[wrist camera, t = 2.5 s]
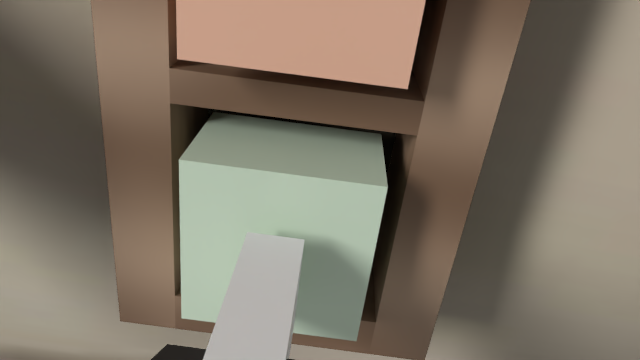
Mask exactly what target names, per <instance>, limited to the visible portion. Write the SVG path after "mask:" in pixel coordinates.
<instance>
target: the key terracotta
mask: <svg viewBox="0 0 640 360" xmlns="http://www.w3.org/2000/svg"><path fill="white" fill-rule="evenodd" d="M425 1H426V0H176V26H177V59H180V60H188V61H195V62H203V63H211V64H218V65H226V66H234V67H241V68H249V69H257V70H264V71H272V72H279V73H287V74H295V75H302V76H310V77H318V78H325V79H333V80H341V81H348V82H356V83H364V84H371V85H379V86H387V87H394V88H402V89H408V85H409V80H410V75H411V70H412V65H413V60H414V56H415V51H416V46H417V41H418V36H419V31H420V26H421V21H422V16H423V11H424V6H425Z"/></svg>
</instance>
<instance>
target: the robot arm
mask: <svg viewBox="0 0 640 360" xmlns="http://www.w3.org/2000/svg"><path fill="white" fill-rule="evenodd" d="M304 241H305V239H297V238H289V237H282V236H274V235H267V234H259V233H251V232H247V234H246V237H245V240H244V243H243V246H242V249H241V251H240V254H239V257H238V260H237V263H236V266H235V269H234V272H233V274H232V277H231V280H230V283H229V286H228V289H227V292H226V295H225V297H224V300H223V303H222V306H221V309H220V312H219V315H218V317H217V320H216V323H215V326H214V329H213V332H212V335H211V338H210V340H209V343H208V346H207V349H199V348H192V347H184V346H177V345H169V344H167V345H166V346H165V347H164V348H163V349H162V350H161V351H160V352H159V353H158V354H156V355H155V356H154V357H153V358H152V359H151V360H293V359H289V355H290V348H291V342H292V335H293V328H294V322H295V314H296V306H297V298H298V290H299V282H300V273H301V265H302V257H303V249H304Z"/></svg>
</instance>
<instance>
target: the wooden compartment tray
mask: <svg viewBox="0 0 640 360" xmlns="http://www.w3.org/2000/svg"><path fill="white" fill-rule="evenodd" d="M530 2H531V0H426V1H425V6H424V11H423V16H422V21H421V26H420V31H419V36H418V41H417V46H416V51H415V56H414V60H413V65H412V70H411V75H410V80H409V85H408V89H402V88H394V87H387V86H379V85H371V84H364V83H356V82H348V81H341V80H333V79H325V78H318V77H310V76H302V75H295V74H287V73H279V72H272V71H264V70H257V69H249V68H241V67H234V66H226V65H218V64H211V63H203V62H195V61H188V60H180V59H177V26H176V0H91V8H92V19H93V30H94V41H95V52H96V63H97V74H98V84H99V95H100V106H101V117H102V128H103V139H104V150H105V161H106V171H107V182H108V193H109V204H110V215H111V226H112V237H113V247H114V258H115V269H116V280H117V291H118V302H119V313H120V321H123V322H131V323H138V324H146V325H154V326H161V327H169V328H176V329H184V330H192V331H199V332H207V333H212V332H213V329H214V326H215V323H214V322H206V321H198V320H191V319H183V318H181V262H180V203H179V159H180V157H181V156H182V155H183V153H184V152H185V151H186V149H187V148H188V146H189V145H190V144H191V142H192V141H193V140H194V138H195V137H196V136H197V134H198V133H199V132H200V130H201V129H202V127H203V126H204V125H205V123H206V122H207V121H208V108H210V109H217V110H225V111H233V112H240V113H248V114H256V115H263V116H271V117H278V118H286V119H294V120H301V121H309V122H317V123H324V124H332V125H340V126H347V127H355V128H362V129H370V130H378V131H385V132H393V133H396V135H395V140H394V145H393V150H392V155H391V160H390V165H389V170H388V175H387V184H388V189H387V194H386V199H385V203H384V208H383V213H382V218H381V223H380V228H379V233H378V238H377V243H376V248H375V253H374V258H373V263H372V268H371V273H370V277H369V282H368V287H367V292H366V297H365V302H364V307H363V312H362V317H361V322H360V327H359V332H358V337H357V341H350V340H343V339H335V338H328V337H320V336H312V335H305V334H297V333H293V335H292V342H291V344H298V345H306V346H313V347H321V348H328V349H336V350H344V351H351V352H359V353H367V354H374V355H382V356H389V357H397V358H405V359H412V360H425V357H426V354H427V350H428V347H429V344H430V340H431V337H432V333H433V330H434V327H435V323H436V320H437V316H438V313H439V310H440V306H441V303H442V299H443V296H444V293H445V289H446V286H447V283H448V279H449V276H450V272H451V269H452V266H453V262H454V259H455V255H456V252H457V249H458V245H459V242H460V239H461V235H462V232H463V228H464V225H465V222H466V218H467V215H468V211H469V208H470V205H471V201H472V198H473V195H474V191H475V188H476V184H477V181H478V178H479V174H480V171H481V167H482V164H483V161H484V157H485V154H486V151H487V147H488V144H489V140H490V137H491V134H492V130H493V127H494V123H495V120H496V117H497V113H498V110H499V107H500V103H501V100H502V96H503V93H504V90H505V86H506V83H507V79H508V76H509V73H510V69H511V66H512V63H513V59H514V56H515V52H516V49H517V46H518V42H519V39H520V35H521V32H522V29H523V25H524V22H525V18H526V15H527V12H528V8H529V5H530Z"/></svg>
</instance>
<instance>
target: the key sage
mask: <svg viewBox="0 0 640 360" xmlns="http://www.w3.org/2000/svg"><path fill="white" fill-rule="evenodd" d="M387 189H388V184H387V176H386V168H385V160H384V152H383V144H382V136H381V134H377V133H369V132H361V131H354V130H346V129H338V128H331V127H323V126H315V125H308V124H300V123H293V122H285V121H277V120H270V119H262V118H254V117H247V116H239V115H231V114H224V113H216V112H214V113H213V114H212V115H211V117H210V118H209V119H208V121H207V122H206V123H205V125H204V126H203V127H202V129H201V130H200V132H199V133H198V134H197V136H196V137H195V138H194V140H193V141H192V142H191V144H190V145H189V146H188V148H187V149H186V151H185V152H184V153H183V155H182V156H181V157H180V159H179V203H180V262H181V318H183V319H191V320H198V321H206V322H214V323H216V320H217V317H218V315H219V312H220V309H221V306H222V303H223V300H224V297H225V295H226V292H227V289H228V286H229V283H230V280H231V277H232V274H233V272H234V269H235V266H236V263H237V260H238V257H239V254H240V251H241V249H242V246H243V243H244V240H245V237H246V234H247V232H251V233H259V234H267V235H274V236H282V237H289V238H297V239H305V241H304V249H303V257H302V265H301V273H300V282H299V290H298V298H297V306H296V314H295V322H294V328H293V333H297V334H305V335H312V336H320V337H328V338H335V339H343V340H350V341H357V337H358V332H359V327H360V322H361V317H362V312H363V307H364V302H365V297H366V292H367V287H368V282H369V277H370V273H371V268H372V263H373V258H374V253H375V248H376V243H377V238H378V233H379V228H380V223H381V218H382V213H383V208H384V203H385V199H386V194H387Z"/></svg>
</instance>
